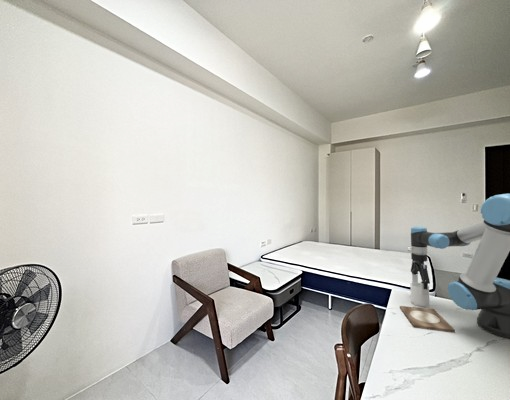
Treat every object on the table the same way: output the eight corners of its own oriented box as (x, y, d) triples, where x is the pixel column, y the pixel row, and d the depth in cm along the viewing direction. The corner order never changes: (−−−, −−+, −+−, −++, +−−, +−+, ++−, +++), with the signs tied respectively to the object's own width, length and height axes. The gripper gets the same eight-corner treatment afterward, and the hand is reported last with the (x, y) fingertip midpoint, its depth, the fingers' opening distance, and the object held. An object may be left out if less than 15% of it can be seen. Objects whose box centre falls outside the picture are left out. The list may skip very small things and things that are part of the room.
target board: (434, 311, 118) (434, 309, 118) (455, 332, 99) (455, 329, 99) (399, 307, 123) (399, 305, 123) (413, 327, 104) (413, 324, 104)
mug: (432, 301, 129) (431, 283, 129) (427, 308, 121) (427, 289, 121) (414, 297, 135) (413, 279, 136) (409, 303, 127) (408, 285, 127)
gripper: (404, 248, 142) (404, 281, 142) (420, 258, 118) (421, 298, 118) (418, 248, 139) (418, 282, 140) (437, 259, 116) (437, 299, 116)
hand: (419, 289), depth 129 cm, fingers open, 13 cm apart
